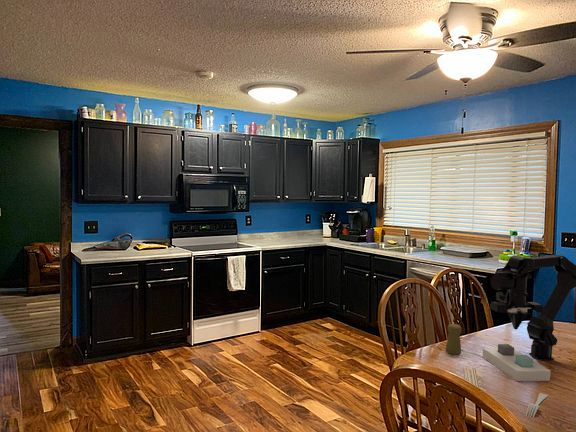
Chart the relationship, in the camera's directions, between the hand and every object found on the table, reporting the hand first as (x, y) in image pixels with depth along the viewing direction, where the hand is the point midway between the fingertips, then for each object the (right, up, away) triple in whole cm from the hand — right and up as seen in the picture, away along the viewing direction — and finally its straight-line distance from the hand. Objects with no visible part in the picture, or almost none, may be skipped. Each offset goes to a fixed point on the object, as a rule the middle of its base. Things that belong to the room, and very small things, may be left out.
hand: (515, 329), depth 170 cm
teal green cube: (-4, -10, -13) cm, 17 cm away
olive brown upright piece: (-21, -11, +8) cm, 25 cm away
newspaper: (-25, -14, -22) cm, 36 cm away
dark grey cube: (-5, -10, -2) cm, 11 cm away
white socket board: (-5, -12, -8) cm, 15 cm away
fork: (-12, -14, -36) cm, 41 cm away
